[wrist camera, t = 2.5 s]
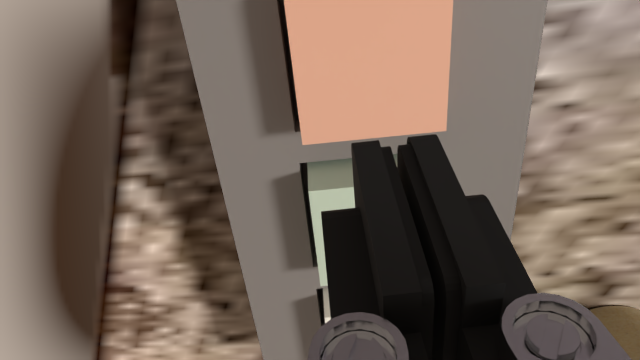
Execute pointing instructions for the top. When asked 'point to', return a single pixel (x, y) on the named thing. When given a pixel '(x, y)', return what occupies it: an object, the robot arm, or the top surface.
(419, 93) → the terracotta button
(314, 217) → the sage button
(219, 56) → the button panel
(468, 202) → the robot arm
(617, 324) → the plant pot
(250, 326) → the top surface
